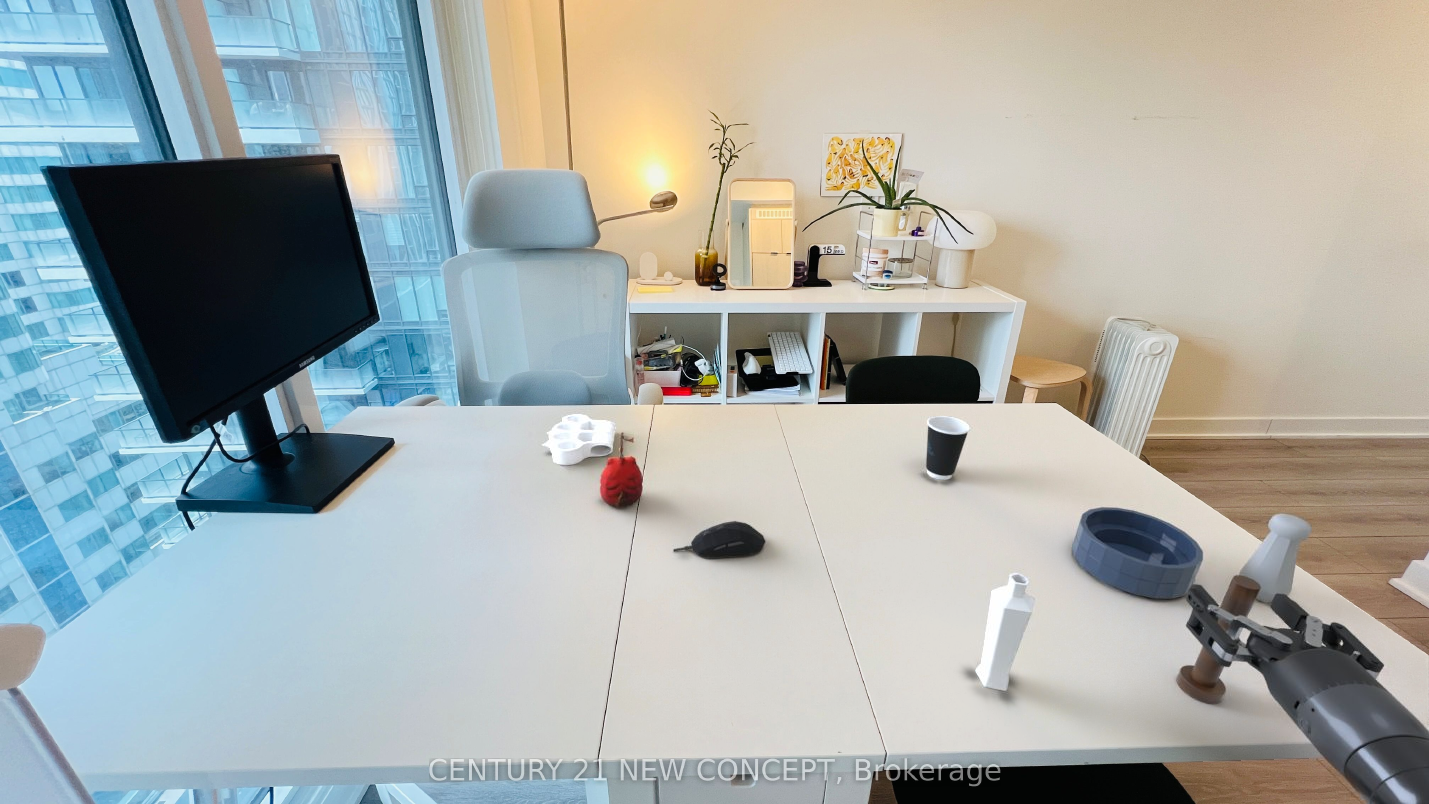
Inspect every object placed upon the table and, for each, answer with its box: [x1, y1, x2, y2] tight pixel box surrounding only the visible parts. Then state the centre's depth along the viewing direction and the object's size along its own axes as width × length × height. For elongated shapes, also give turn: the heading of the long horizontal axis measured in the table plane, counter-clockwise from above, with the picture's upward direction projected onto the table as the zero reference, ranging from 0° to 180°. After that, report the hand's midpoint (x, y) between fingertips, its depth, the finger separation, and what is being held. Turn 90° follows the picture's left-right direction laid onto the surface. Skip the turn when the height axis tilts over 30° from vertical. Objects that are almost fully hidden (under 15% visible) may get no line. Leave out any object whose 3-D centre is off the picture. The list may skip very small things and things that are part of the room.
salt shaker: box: [1238, 513, 1313, 603], centre depth 85 cm, size 6×6×13 cm
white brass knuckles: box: [542, 413, 617, 466], centre depth 128 cm, size 3×18×15 cm
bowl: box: [1071, 506, 1204, 600], centre depth 92 cm, size 16×16×6 cm
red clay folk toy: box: [599, 432, 644, 509], centre depth 105 cm, size 8×7×15 cm
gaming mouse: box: [672, 520, 766, 559], centre depth 95 cm, size 6×15×4 cm, turn 99°
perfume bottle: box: [975, 572, 1036, 692], centre depth 70 cm, size 5×4×15 cm
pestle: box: [1176, 574, 1261, 705], centre depth 69 cm, size 4×4×16 cm
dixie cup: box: [925, 415, 971, 481], centre depth 117 cm, size 8×8×11 cm
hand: (1233, 594), depth 68 cm, fingers open, 8 cm apart
